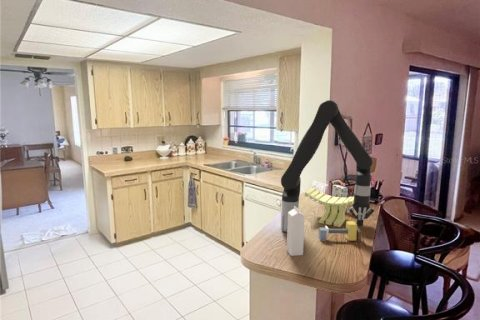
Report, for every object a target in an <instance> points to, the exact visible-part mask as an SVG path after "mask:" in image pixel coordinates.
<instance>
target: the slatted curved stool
mask: <svg viewBox="0 0 480 320" xmlns="http://www.w3.org/2000/svg"><path fill="white" fill-rule="evenodd" d="M304 197H307V198H308V197H309V199H310V200H313V202H317V201H318V204H323V205H324V209H325V212H324V214H323V215H322V217H320V219H319V220H318V221H317V223H318V224H323V225H324V224H325V225H329V226H333V227H338V228H340V227H341V226H342V225H343V224H344V222H346V217H345V216H346V215H345V213H346V212H345V209H346V207H347V208H348V206H352V205H353V203H354V195H353V196H348V198H347V197H341V198H340V197H334V196H333V197H332V195H329V194H326V193H325V192H321V190H318V189H316V188H315V187H311V188H308V189H307V190H306V191H305V193H304Z"/></svg>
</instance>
